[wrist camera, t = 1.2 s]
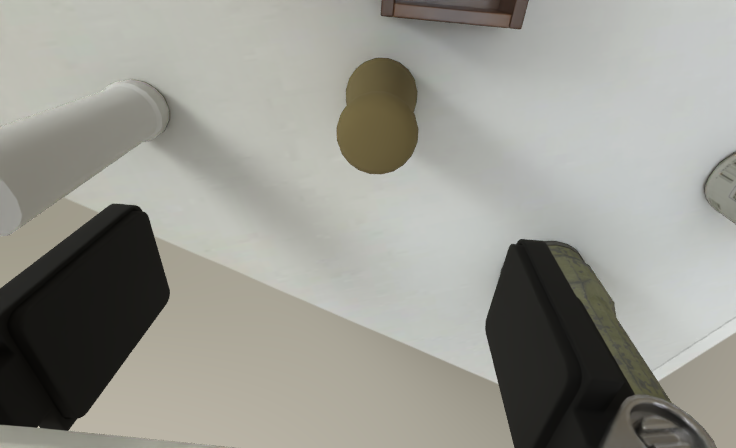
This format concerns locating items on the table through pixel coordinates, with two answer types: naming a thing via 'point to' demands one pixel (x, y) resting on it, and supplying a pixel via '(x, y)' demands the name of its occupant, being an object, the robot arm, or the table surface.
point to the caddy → (460, 11)
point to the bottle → (72, 146)
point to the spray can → (723, 188)
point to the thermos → (606, 320)
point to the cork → (379, 117)
